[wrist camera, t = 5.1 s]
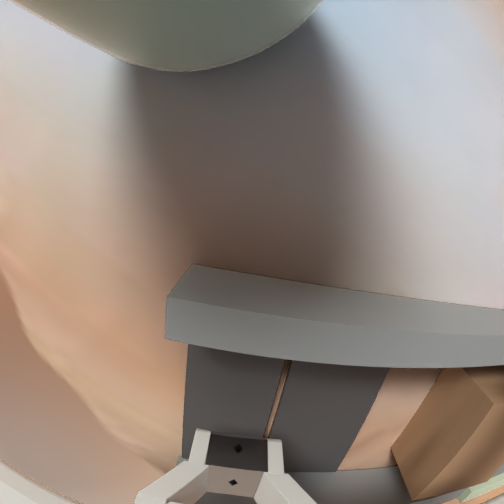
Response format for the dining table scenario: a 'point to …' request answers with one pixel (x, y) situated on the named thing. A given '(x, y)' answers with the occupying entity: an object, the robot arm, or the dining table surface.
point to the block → (454, 433)
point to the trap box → (314, 370)
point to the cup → (175, 28)
